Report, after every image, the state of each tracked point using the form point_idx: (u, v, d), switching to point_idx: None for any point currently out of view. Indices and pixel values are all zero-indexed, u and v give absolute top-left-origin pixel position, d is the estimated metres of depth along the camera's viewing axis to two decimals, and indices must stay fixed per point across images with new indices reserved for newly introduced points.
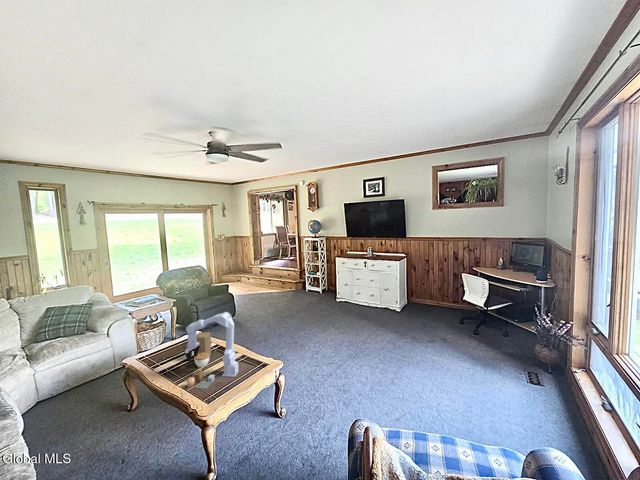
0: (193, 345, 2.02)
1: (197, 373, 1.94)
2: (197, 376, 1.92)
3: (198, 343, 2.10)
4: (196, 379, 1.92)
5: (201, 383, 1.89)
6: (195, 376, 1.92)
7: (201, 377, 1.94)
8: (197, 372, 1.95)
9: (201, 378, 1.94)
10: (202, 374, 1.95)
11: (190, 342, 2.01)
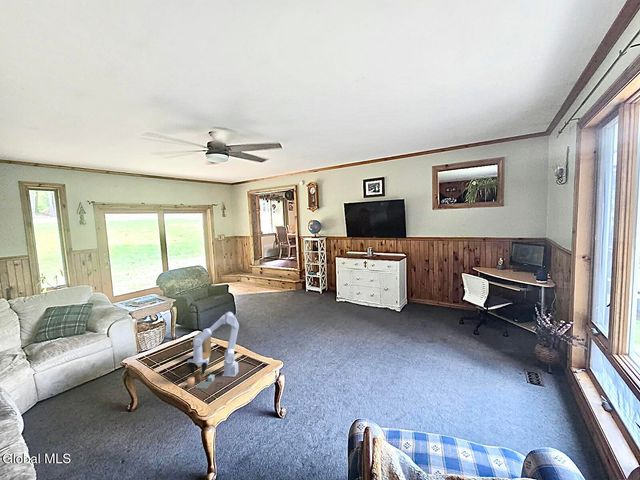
0: (193, 359, 1.92)
1: (197, 373, 1.94)
2: (197, 376, 1.92)
3: (205, 362, 1.92)
4: (196, 379, 1.92)
5: (201, 383, 1.89)
6: (195, 376, 1.92)
7: (201, 377, 1.94)
8: (197, 372, 1.95)
9: (201, 378, 1.94)
10: (202, 374, 1.95)
11: None
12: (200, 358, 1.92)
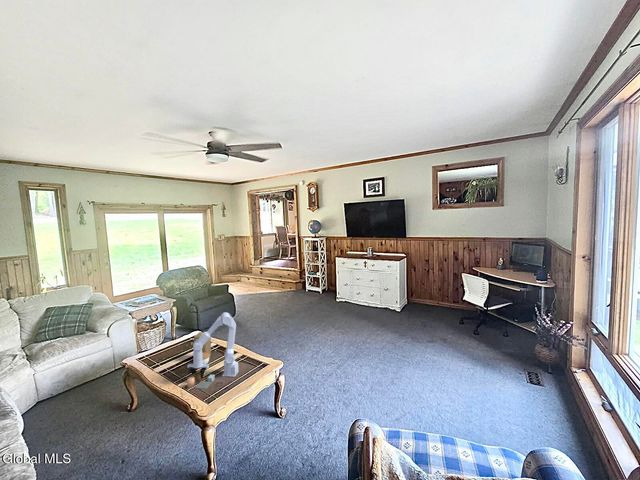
0: (193, 364, 1.92)
1: (197, 373, 1.94)
2: (197, 376, 1.92)
3: (205, 366, 1.92)
4: (196, 379, 1.92)
5: (201, 383, 1.89)
6: (195, 376, 1.92)
7: None
8: (197, 372, 1.95)
9: None
10: None
11: None
12: (200, 363, 1.92)
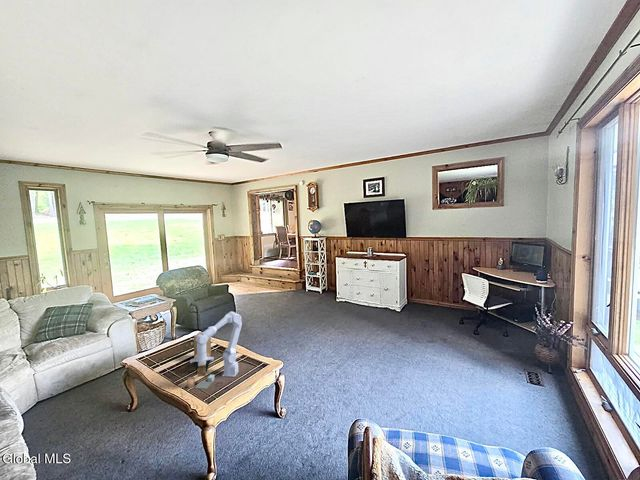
0: (198, 358, 1.86)
1: (201, 367, 1.88)
2: (202, 370, 1.87)
3: (211, 358, 1.89)
4: (201, 373, 1.87)
5: (201, 383, 1.89)
6: (200, 370, 1.86)
7: None
8: (201, 366, 1.89)
9: None
10: None
11: (197, 353, 1.87)
12: (205, 356, 1.88)
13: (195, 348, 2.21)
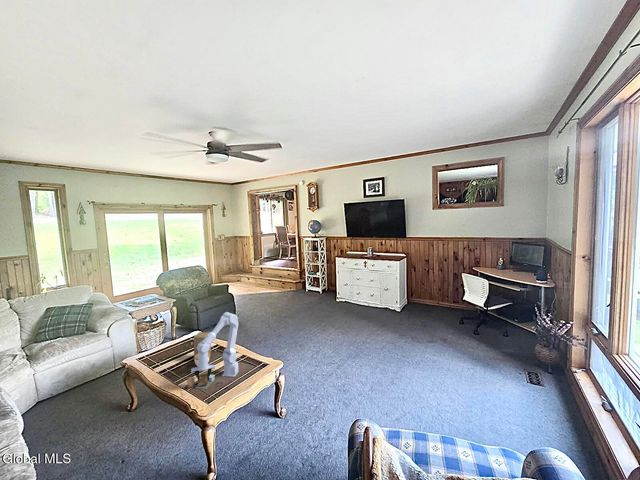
0: (200, 367, 1.85)
1: (203, 376, 1.87)
2: (204, 378, 1.86)
3: (212, 367, 1.88)
4: (203, 382, 1.85)
5: None
6: (202, 379, 1.85)
7: None
8: (202, 375, 1.88)
9: (207, 380, 1.88)
10: (207, 376, 1.89)
11: None
12: (207, 364, 1.87)
13: (195, 348, 2.21)
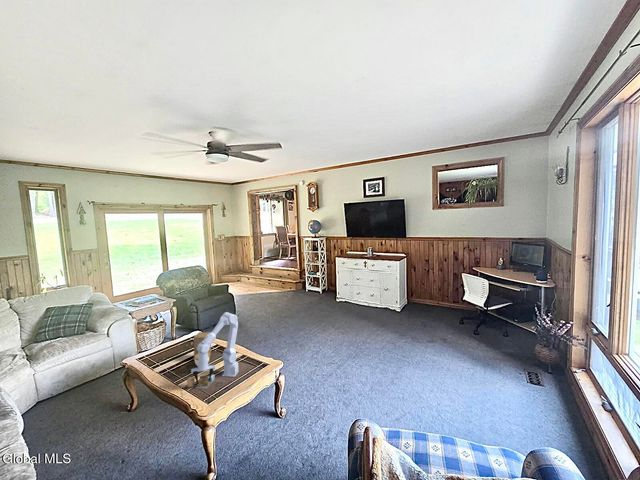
0: (200, 367, 1.85)
1: (203, 377, 1.87)
2: (204, 380, 1.86)
3: (212, 367, 1.88)
4: (203, 384, 1.85)
5: None
6: (202, 381, 1.85)
7: (207, 381, 1.88)
8: (202, 377, 1.88)
9: (207, 382, 1.88)
10: (207, 378, 1.89)
11: None
12: (207, 364, 1.87)
13: (195, 348, 2.21)
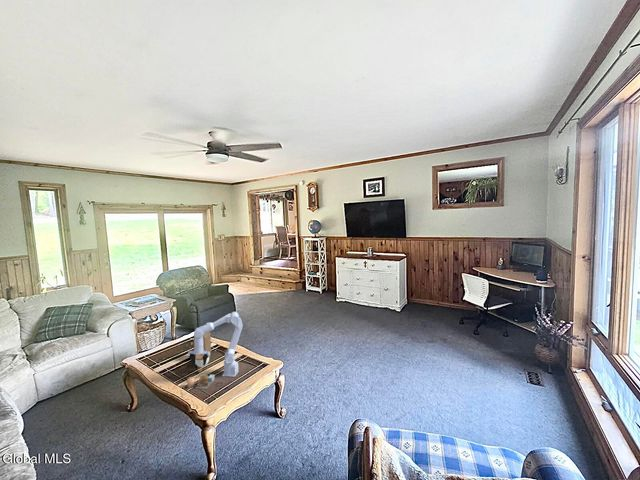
0: (194, 350, 1.93)
1: (203, 377, 1.87)
2: (204, 380, 1.86)
3: (206, 353, 1.94)
4: (203, 384, 1.85)
5: None
6: (202, 381, 1.85)
7: (207, 381, 1.88)
8: (202, 377, 1.88)
9: (207, 382, 1.88)
10: (207, 378, 1.89)
11: None
12: (201, 349, 1.94)
13: None
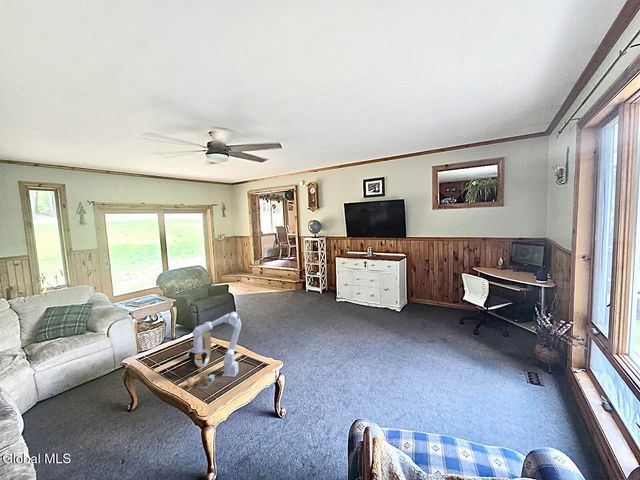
0: (194, 349, 1.96)
1: (203, 377, 1.87)
2: (204, 380, 1.86)
3: (205, 351, 1.96)
4: (203, 384, 1.85)
5: None
6: (202, 381, 1.85)
7: (207, 381, 1.88)
8: (202, 377, 1.88)
9: (207, 382, 1.88)
10: (207, 378, 1.89)
11: None
12: (200, 348, 1.96)
13: None
